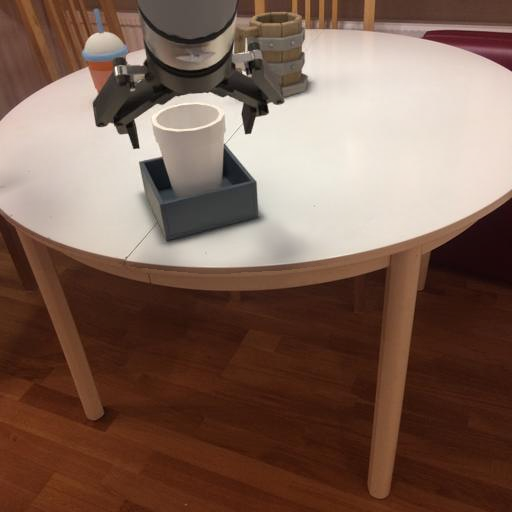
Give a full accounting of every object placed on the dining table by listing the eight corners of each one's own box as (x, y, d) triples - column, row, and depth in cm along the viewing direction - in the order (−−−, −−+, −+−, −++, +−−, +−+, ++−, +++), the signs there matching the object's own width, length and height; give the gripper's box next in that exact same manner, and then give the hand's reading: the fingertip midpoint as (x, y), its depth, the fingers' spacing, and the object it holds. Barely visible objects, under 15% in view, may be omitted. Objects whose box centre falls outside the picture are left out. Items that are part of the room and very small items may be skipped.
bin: (166, 240, 69) (159, 204, 66) (145, 194, 79) (138, 161, 76) (258, 217, 73) (256, 181, 70) (227, 175, 83) (224, 143, 79)
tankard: (283, 72, 121) (282, 2, 112) (318, 87, 112) (320, 12, 103) (208, 93, 113) (200, 18, 103) (239, 111, 104) (233, 31, 95)
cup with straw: (96, 94, 115) (76, 6, 104) (138, 91, 116) (122, 2, 105) (91, 110, 108) (68, 16, 97) (135, 106, 108) (117, 13, 98)
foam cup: (196, 180, 81) (185, 98, 73) (244, 196, 77) (238, 110, 69) (153, 208, 75) (136, 122, 67) (202, 227, 71) (190, 137, 63)
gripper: (36, 92, 41) (90, 174, 62) (343, 57, 44) (296, 146, 65) (25, 4, 42) (82, 114, 62) (326, -24, 45) (285, 89, 66)
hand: (191, 130), depth 64 cm, fingers open, 13 cm apart
